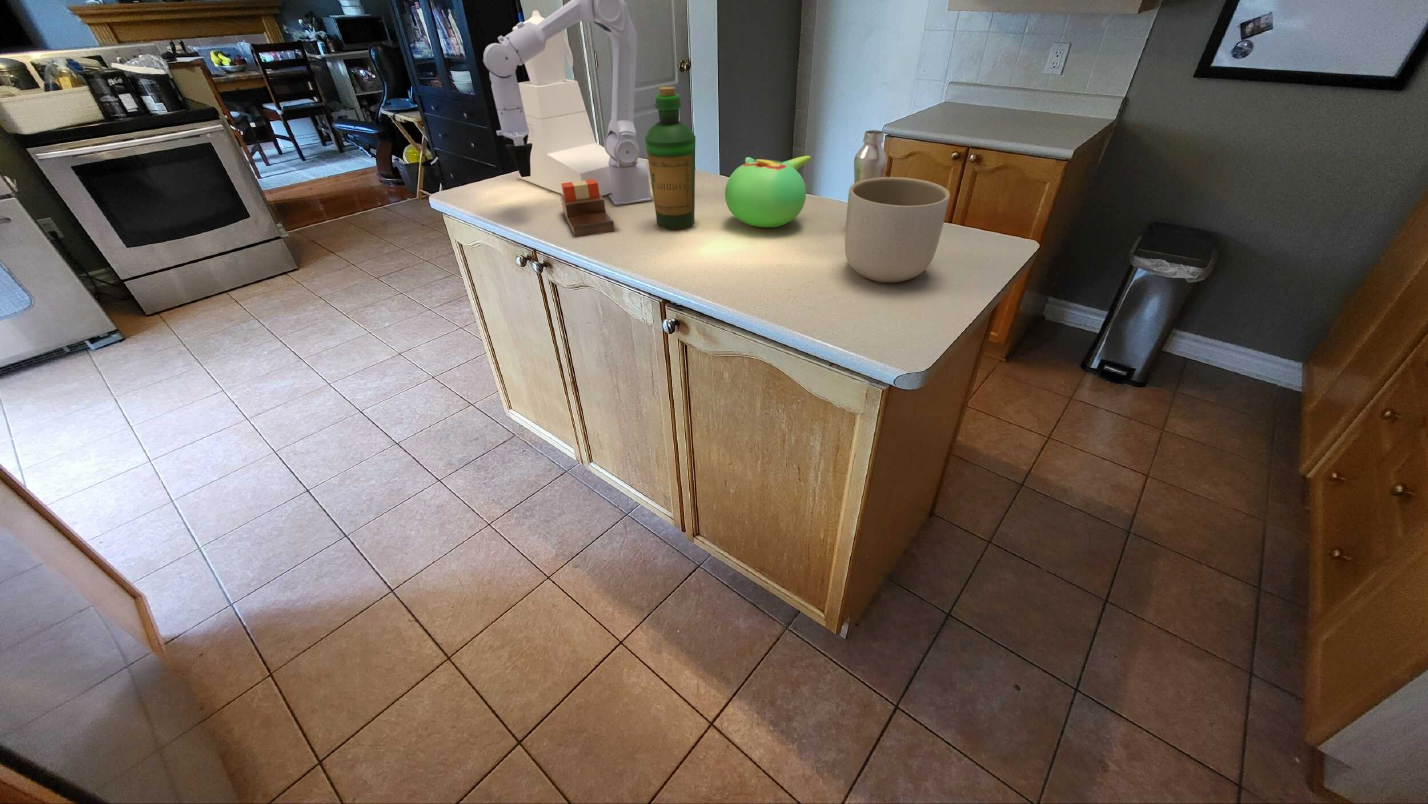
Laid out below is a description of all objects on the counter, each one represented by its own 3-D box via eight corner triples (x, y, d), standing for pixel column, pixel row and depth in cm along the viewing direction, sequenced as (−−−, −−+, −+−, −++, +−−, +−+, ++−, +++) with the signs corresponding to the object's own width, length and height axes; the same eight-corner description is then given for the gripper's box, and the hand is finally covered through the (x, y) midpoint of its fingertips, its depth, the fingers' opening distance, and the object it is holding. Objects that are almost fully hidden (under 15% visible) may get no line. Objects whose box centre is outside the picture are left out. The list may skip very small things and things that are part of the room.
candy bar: (596, 192, 137) (594, 179, 136) (599, 197, 135) (597, 183, 133) (563, 197, 135) (561, 183, 133) (565, 201, 133) (563, 187, 131)
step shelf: (599, 208, 142) (597, 190, 139) (614, 230, 129) (612, 211, 126) (563, 213, 140) (560, 194, 137) (575, 236, 127) (571, 216, 124)
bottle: (643, 229, 130) (630, 90, 113) (668, 214, 137) (658, 83, 120) (684, 236, 126) (676, 93, 109) (707, 220, 133) (702, 85, 116)
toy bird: (714, 231, 128) (712, 162, 119) (743, 208, 140) (743, 144, 131) (790, 242, 121) (794, 170, 112) (813, 217, 133) (819, 150, 125)
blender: (640, 187, 155) (622, 10, 131) (583, 204, 145) (552, 15, 121) (573, 166, 174) (547, 7, 150) (519, 179, 164) (481, 12, 140)
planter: (874, 247, 118) (886, 171, 109) (949, 272, 108) (969, 190, 98) (821, 271, 109) (829, 191, 100) (897, 301, 99) (914, 214, 90)
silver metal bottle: (877, 235, 123) (892, 136, 111) (845, 234, 124) (857, 135, 112) (876, 225, 128) (891, 129, 116) (846, 223, 129) (857, 128, 117)
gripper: (489, 104, 129) (504, 166, 138) (492, 115, 118) (508, 182, 127) (521, 101, 131) (534, 163, 139) (527, 112, 120) (541, 178, 129)
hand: (524, 172), depth 133 cm, fingers open, 7 cm apart
